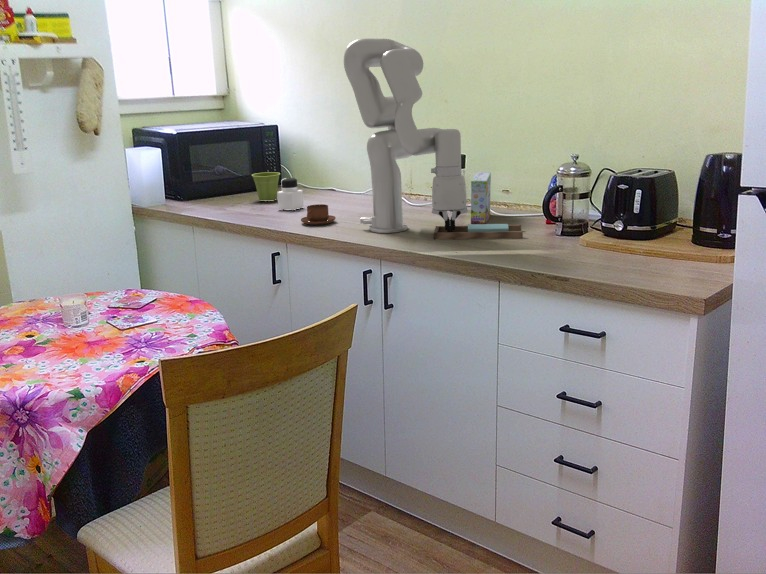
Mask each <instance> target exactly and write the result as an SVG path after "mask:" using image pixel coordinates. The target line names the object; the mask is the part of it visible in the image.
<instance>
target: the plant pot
mask: <svg viewBox="0 0 766 574" xmlns="http://www.w3.org/2000/svg"><path fill="white" fill-rule="evenodd" d="M280 176H281V173H280V172H275V171H273V172H272V171H271V172H269V171H267V172H266V171H265V172H258V173H256V172H255V173H253V174H251V177H252V178H253V182H254V185H255V187H256V188H255V189H256V192H257V198H258V201H259V200H275V199H277V200H278V197H277V192H279V191H278V190H279V179H280Z"/></svg>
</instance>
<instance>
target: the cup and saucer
mask: <svg viewBox="0 0 766 574" xmlns="http://www.w3.org/2000/svg"><path fill="white" fill-rule="evenodd" d="M306 211H307V212H306V213H307V214H306V216H305V217H302V218H301V219H300V221H301V222H302V223H303V224H305V225H308V224H310V226H322V225H321V224H323V225H328V224H331V223H333V222H334V221H335V220H336V217H337V216H334V215H329V205H328V204H320V203H319V204H310V205H307V206H306ZM327 220H328V221H327ZM308 221H310V222H308Z"/></svg>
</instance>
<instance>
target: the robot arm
mask: <svg viewBox="0 0 766 574" xmlns="http://www.w3.org/2000/svg"><path fill="white" fill-rule="evenodd" d="M343 67H344V68H343V69H344V71H345V74H346V77H347V79H348V81H349V84H350V86H351V88H352V91H353V93H354V98H355V99H356V100H355V101H356V105H357V106H358V110H359V113H360V116H361V119H362V122H363V124H364V125H365V126H366V127H367V128H370V129H383V128H387V130H381V131H377V132H374V133H373V134H371V135H370V137H369V138H368V140H367V142H366V151H367V155H368V160H369V161H368V162H369V165H370V176H371V178H370V179H371V192H372V193H371V194H372V195H371V196H372V210H373V211H372V212H373V213H372V214H373V215H372V216H370V217H360V220H359V221H360V224H363V225H369V231H370V232H371V233H377V234H390V233H391V234H392V233H399V232H404V231H406V230H408V229H409V225H408V224H407V223H404V221H403V220H404V218H403V215H404V214H403V192H402V191H403V189H402V173H401V170H400V167H399V165H398V163H397V160H401V159H407V158H410V157H412V156H415V157H417V156H422V155H423V156H424V155H430V154H435V167H433V168H430V173H431V174H435V176H434V177H433V179H432V188H431V191H432V193H431V202H432V203H431V206H432V208H431V209H432V210H431V214H433V215H439V217H441V218H442V219H443V220H444V226H445V230H447V232H453V230H455V226H456V219H457V218H458V217H459V216H460V215H464V214H467V213H468V207H467V201H468V200H467V187H466V180H465V176H464V175H462V145H461V144H462V140H461V137H462V135H461V131H460V130H459V129H457V128H456V129H455V128H444V129H442V128H438V127H427V128H417V125H416V123H415V121H414V117H413V107H414V104H416V103H418V101H420V100H421V99H422V97H423V90H422V88H421V85H420V84H419V81H418V79H417V76H419V75H421V73H422V72H423V69H424V59H423V56H422V55H421V53H420V52H419V51H418V50H417V49H415V48H413V47H410V46H409V45H406V44H403V43H400V42H398V41H395V40H394V39H390V38H360V39H356V40H353V41H352V42H350V43H349V44H348V45H347V47H346V48H345V51H344V55H343ZM377 67H378V68H381V70H382V74H383V76H384V78H385V80H386V82H387V85H388V87H389V90H390V93H391V94H392V96H384V94H383V91H382V88H381V85H380V82H379V80H378V78H377V76H375V74H374V73H373V72H372V71H371V70H370V68H377ZM448 211H449V212H451V216H450V217H449V215H448Z"/></svg>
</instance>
